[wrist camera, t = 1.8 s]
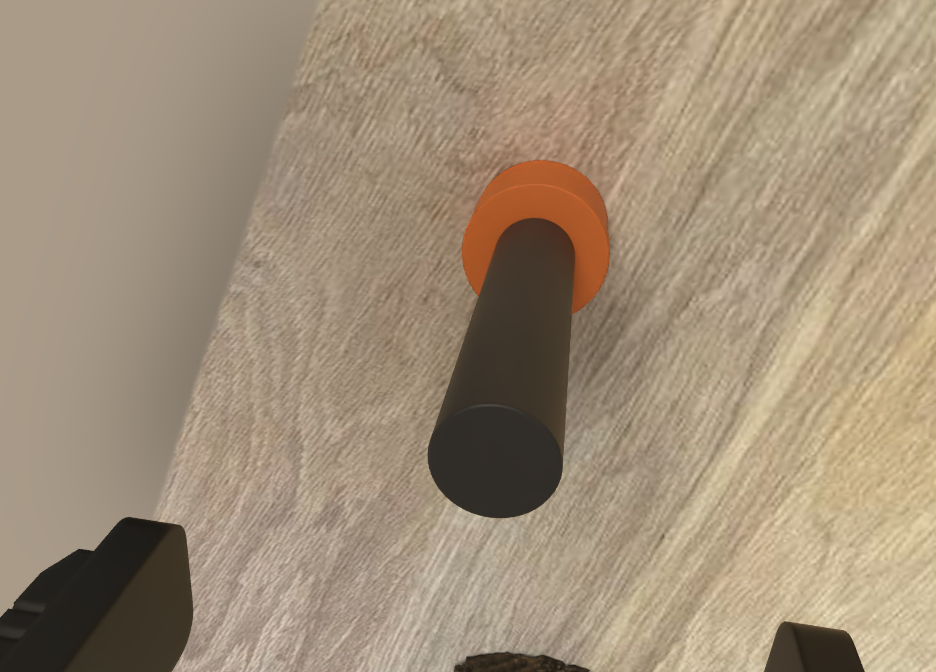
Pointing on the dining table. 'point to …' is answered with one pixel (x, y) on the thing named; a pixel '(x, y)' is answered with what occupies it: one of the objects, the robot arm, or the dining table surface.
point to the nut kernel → (515, 664)
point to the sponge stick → (519, 338)
